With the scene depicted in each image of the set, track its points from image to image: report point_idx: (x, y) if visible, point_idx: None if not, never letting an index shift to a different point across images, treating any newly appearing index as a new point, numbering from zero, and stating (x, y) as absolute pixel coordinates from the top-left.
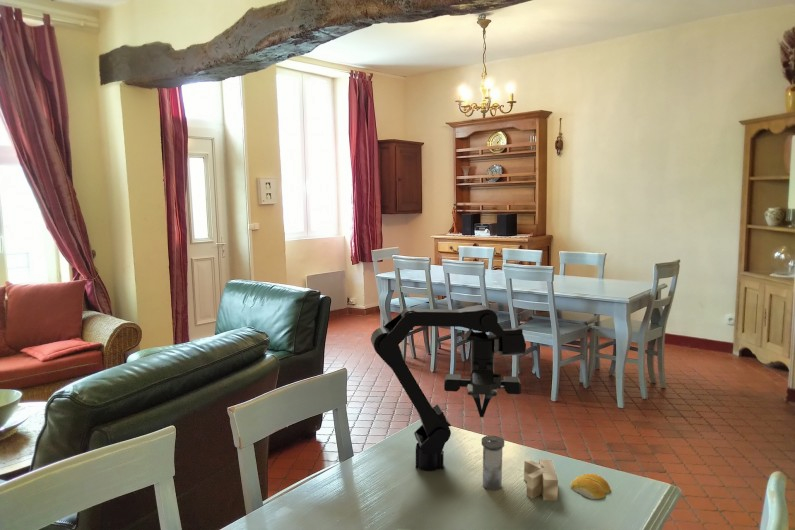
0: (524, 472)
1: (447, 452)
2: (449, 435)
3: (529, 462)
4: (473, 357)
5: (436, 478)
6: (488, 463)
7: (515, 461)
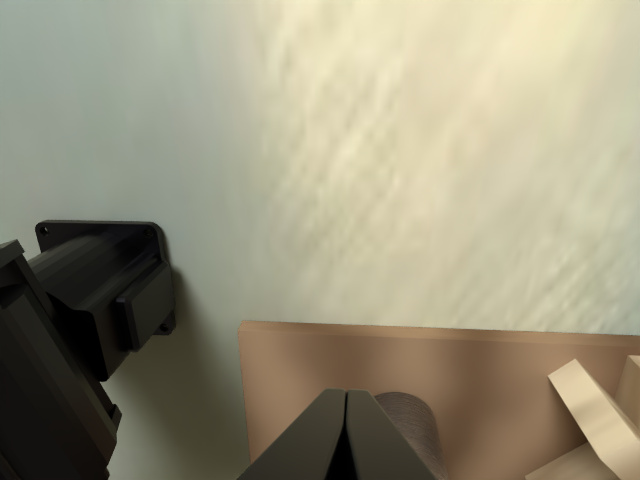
0: (568, 408)
1: (157, 60)
2: (105, 457)
3: (624, 472)
4: None
5: (163, 339)
6: None
7: (563, 127)
